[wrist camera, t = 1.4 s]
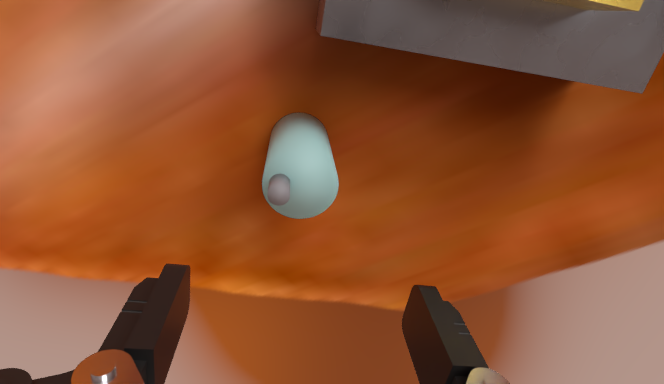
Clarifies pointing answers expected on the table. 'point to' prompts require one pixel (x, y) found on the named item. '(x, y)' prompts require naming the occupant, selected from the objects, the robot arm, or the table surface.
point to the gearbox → (514, 34)
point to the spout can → (299, 168)
